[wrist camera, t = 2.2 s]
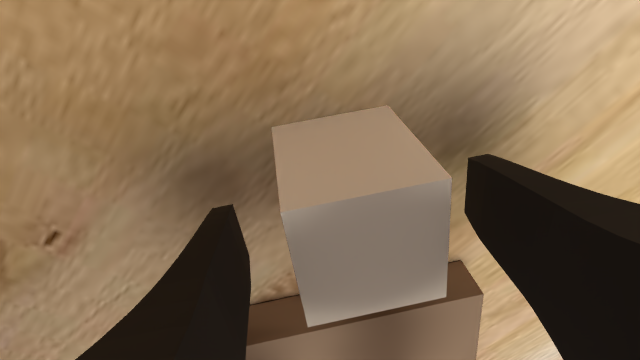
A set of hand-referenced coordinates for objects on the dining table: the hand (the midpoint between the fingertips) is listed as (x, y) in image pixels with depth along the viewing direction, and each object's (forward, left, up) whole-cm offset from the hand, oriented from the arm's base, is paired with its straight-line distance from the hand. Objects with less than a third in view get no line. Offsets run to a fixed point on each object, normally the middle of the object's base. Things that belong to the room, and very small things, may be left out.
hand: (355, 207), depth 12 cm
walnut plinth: (0, -11, -3) cm, 11 cm away
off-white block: (0, 0, -3) cm, 3 cm away
